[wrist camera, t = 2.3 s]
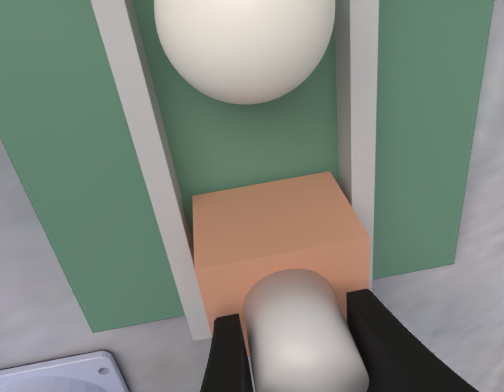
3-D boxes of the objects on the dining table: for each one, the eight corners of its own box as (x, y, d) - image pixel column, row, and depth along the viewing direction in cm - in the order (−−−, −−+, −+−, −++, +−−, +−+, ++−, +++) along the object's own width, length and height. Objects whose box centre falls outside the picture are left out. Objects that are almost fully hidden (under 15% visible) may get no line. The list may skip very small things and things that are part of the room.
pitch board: (442, 249, 20) (472, 287, 18) (96, 315, 20) (86, 362, 17) (556, -616, 9) (677, -794, 7) (-287, -530, 8) (-459, -698, 6)
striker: (333, 256, 18) (407, 419, 12) (212, 279, 18) (226, 456, 12) (330, 171, 16) (418, 317, 10) (192, 196, 16) (197, 360, 10)
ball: (314, 64, 14) (361, 114, 10) (177, 87, 14) (174, 146, 10) (305, -101, 12) (362, -115, 8) (140, -76, 11) (119, -78, 8)
